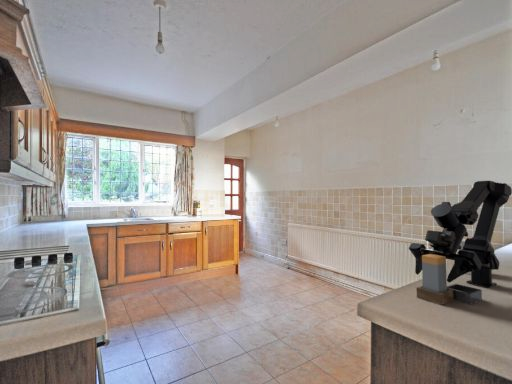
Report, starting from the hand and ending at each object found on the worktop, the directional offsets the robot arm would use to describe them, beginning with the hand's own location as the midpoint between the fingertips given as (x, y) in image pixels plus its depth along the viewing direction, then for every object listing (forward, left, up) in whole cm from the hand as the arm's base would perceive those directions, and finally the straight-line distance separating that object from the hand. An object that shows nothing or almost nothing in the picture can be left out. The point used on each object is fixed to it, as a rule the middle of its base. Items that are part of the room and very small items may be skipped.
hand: (431, 277), depth 81 cm
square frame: (-1, 0, -7) cm, 7 cm away
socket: (-9, +4, -7) cm, 12 cm away
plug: (-1, 0, -7) cm, 7 cm away
